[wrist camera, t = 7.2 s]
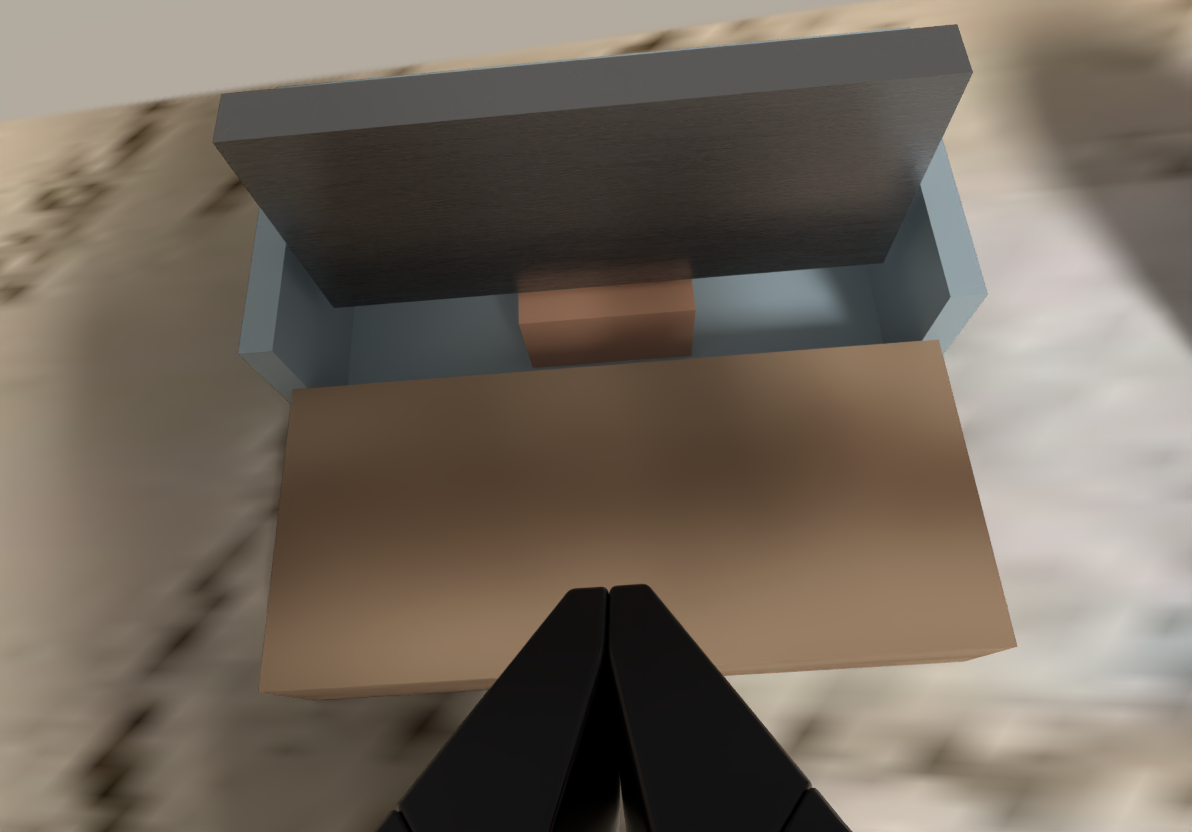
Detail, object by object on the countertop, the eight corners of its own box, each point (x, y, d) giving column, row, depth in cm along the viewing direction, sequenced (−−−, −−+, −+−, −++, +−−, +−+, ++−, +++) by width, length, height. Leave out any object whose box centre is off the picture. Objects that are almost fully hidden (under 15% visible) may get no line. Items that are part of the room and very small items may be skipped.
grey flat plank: (883, 263, 20) (973, 72, 14) (333, 308, 20) (212, 142, 15) (873, 223, 20) (957, 24, 14) (337, 269, 21) (221, 93, 15)
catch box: (917, 390, 22) (987, 293, 17) (323, 434, 22) (237, 353, 18) (862, 160, 25) (909, 27, 20) (344, 205, 26) (276, 87, 21)
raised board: (964, 661, 19) (1017, 646, 16) (314, 700, 20) (258, 692, 17) (902, 391, 22) (938, 339, 19) (336, 433, 22) (292, 389, 20)
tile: (691, 355, 22) (695, 309, 20) (533, 367, 22) (518, 324, 20) (676, 224, 24) (678, 168, 21) (530, 237, 24) (517, 183, 22)
